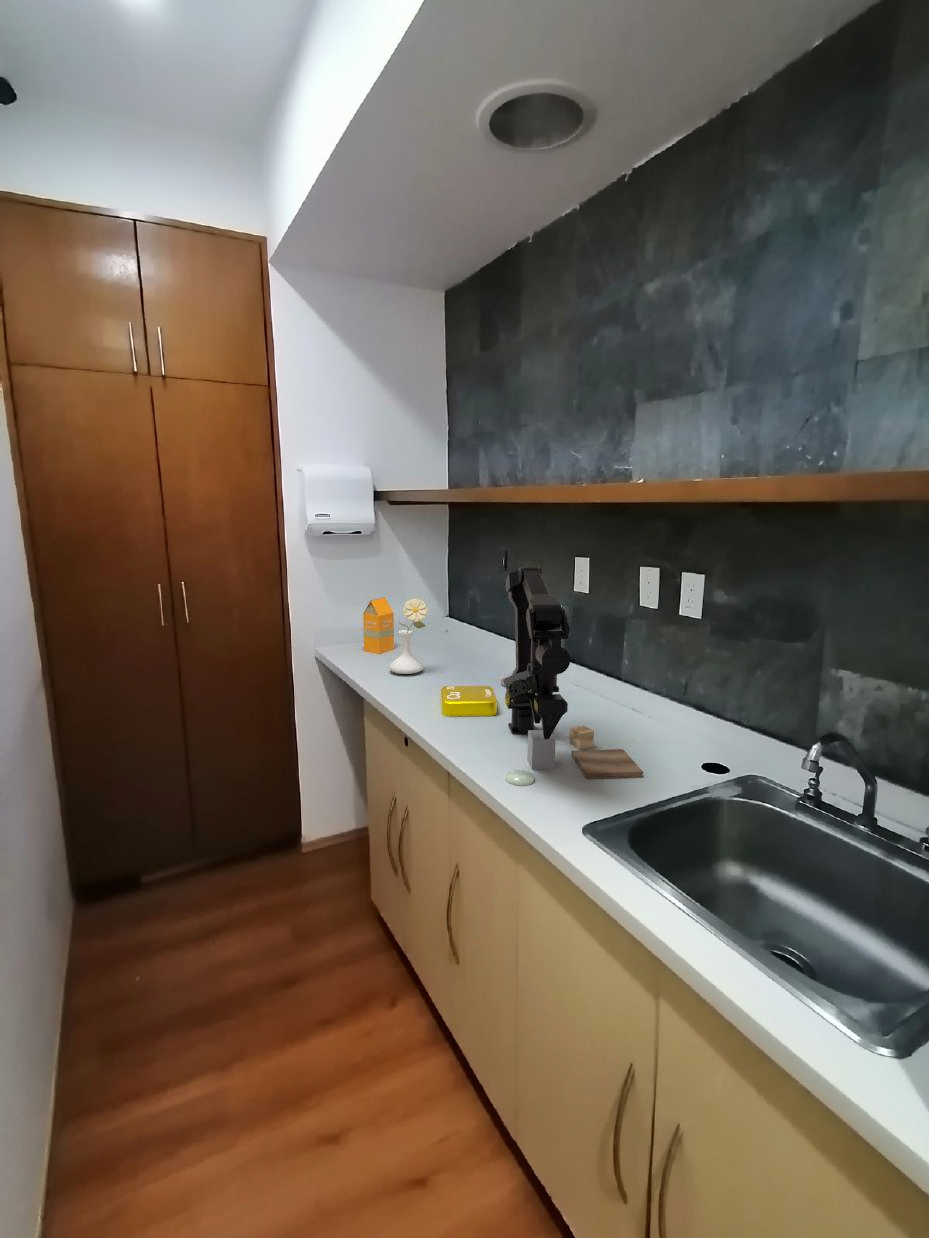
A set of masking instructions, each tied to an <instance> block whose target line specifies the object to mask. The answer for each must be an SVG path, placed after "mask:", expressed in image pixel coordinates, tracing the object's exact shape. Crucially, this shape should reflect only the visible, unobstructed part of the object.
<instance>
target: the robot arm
mask: <svg viewBox="0 0 929 1238" xmlns="http://www.w3.org/2000/svg"><path fill="white" fill-rule="evenodd" d="M543 578H544V576H543V571H542V568H541V567H539V566H521V567H519V568H518V570H515V571H512V572H510V573H508V575H507V576H506V579H505V592H506V593H507V594H508V596H507V597H508V600H509V602H510V604H511V605H512V607H513V608H514V623H515V624H514V625H515V627H514V628H515V629H514V630H515V631H514V633H515V634H514V635H515V636H514V637H515V669H514V670H513V671H514V672H513V674H512V675H511V676H509V677H507V678H505V679H503V682H504V685H505V686H504V688H505V690H506V691H505V694H504V695H505V697H504V699H505V705H506V707H507V709H508V710H511V722H508V724H507V726H508V728H509V729H510V732H511V734H513V735H517V734H522V735H524V734H528V730H538V728H536V726H535V724H540V723H541V728H542V729H541V730H543V736H544V739H549V738H550V737H551V735H552V733H553V734H554V731H555V729H556V728H557V726H558V724H559V722H560V720H561V719H562V717H563V716H564V715H565V714H566V713H568V707H569V706H568V705H569V703H568V702H567V701H566V699H565V698H564V697H563V696H562V695H561V694H560V693H559V692H560V687H559V685H558V675H561V674H563V673H564V672H565V671H567V670H568V669H569V667H570V666H571V665H570V664H571V656H570V653H569V652H568V651H567V650H566V649H565V647H563V645H562V640H568V639H569V634H570V631H571V630H570V624H569V620H568V615H567V613H566V609H565V608H563V606H562V604H561V603H560V601H559V600H558V599H557V598H555V597H552V596H551V595H550V594H549V591H548V589H547V586H546V583H545V581H544V579H543Z"/></svg>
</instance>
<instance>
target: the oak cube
mask: <svg viewBox="0 0 929 1238" xmlns="http://www.w3.org/2000/svg"><path fill="white" fill-rule="evenodd" d="M594 739H595V730H593V729H592V728H590V727H587V726H585V725H580V726H574V727H569V743H568V744H570V745H571V746H573V747H574V748H576V749H577V750H585V749H589V748H594V742H595V741H594Z"/></svg>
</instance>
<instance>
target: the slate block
mask: <svg viewBox="0 0 929 1238" xmlns="http://www.w3.org/2000/svg"><path fill="white" fill-rule="evenodd" d="M556 742H557V737H555V735H554V732H553V733H552V735H551V737H550V738H549V739H544V736H543V729H537V730H528V733H527V758H526V759H527V762H528V765H529V766H530V769H531V770H534V771H535V770H554V769H555V768H556V764H555V763H556V746H557V744H556Z"/></svg>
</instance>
